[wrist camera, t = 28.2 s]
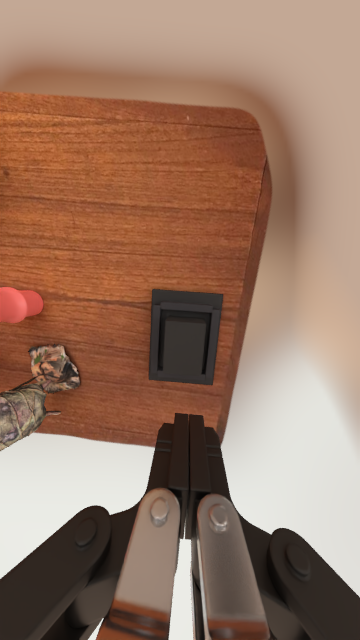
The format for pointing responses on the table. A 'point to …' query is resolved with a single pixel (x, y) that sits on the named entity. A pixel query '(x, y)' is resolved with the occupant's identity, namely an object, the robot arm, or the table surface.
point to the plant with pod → (35, 393)
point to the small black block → (184, 345)
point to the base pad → (188, 307)
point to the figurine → (18, 304)
